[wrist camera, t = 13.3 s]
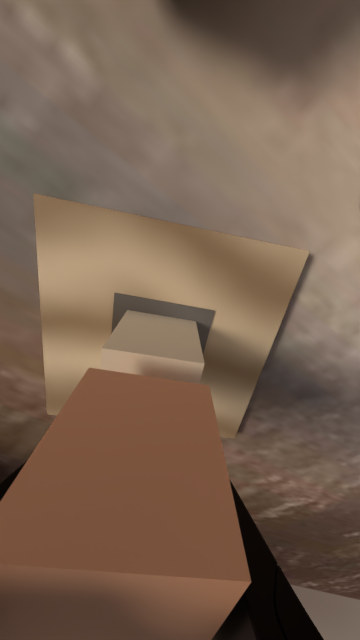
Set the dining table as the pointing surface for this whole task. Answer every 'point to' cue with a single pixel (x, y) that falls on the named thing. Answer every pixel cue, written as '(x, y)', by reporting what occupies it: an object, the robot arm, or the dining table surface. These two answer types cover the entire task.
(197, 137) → the dining table surface
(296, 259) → the tan board
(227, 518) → the terracotta block
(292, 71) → the dining table surface
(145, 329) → the cream block
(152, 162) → the dining table surface
